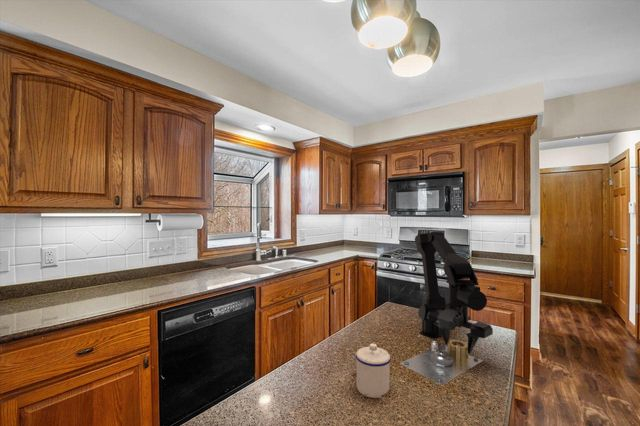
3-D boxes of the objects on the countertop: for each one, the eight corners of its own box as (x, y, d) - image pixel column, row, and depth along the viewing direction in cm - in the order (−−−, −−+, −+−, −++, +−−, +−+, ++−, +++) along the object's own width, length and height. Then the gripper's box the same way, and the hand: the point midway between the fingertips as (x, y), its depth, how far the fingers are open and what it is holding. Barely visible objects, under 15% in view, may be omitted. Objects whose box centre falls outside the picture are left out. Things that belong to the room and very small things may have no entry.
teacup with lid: (397, 392, 76) (398, 347, 76) (371, 403, 71) (371, 356, 71) (367, 370, 86) (367, 331, 86) (342, 379, 81) (342, 337, 81)
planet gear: (443, 355, 94) (444, 342, 94) (453, 350, 98) (453, 338, 98) (462, 363, 89) (462, 349, 90) (471, 357, 93) (471, 344, 93)
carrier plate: (399, 365, 89) (399, 351, 89) (441, 346, 102) (441, 333, 102) (441, 388, 78) (441, 371, 78) (483, 363, 91) (483, 349, 91)
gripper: (418, 297, 97) (417, 344, 97) (475, 313, 81) (474, 369, 81) (437, 292, 103) (436, 336, 103) (493, 306, 88) (493, 358, 88)
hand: (457, 348), depth 94 cm, fingers open, 7 cm apart
